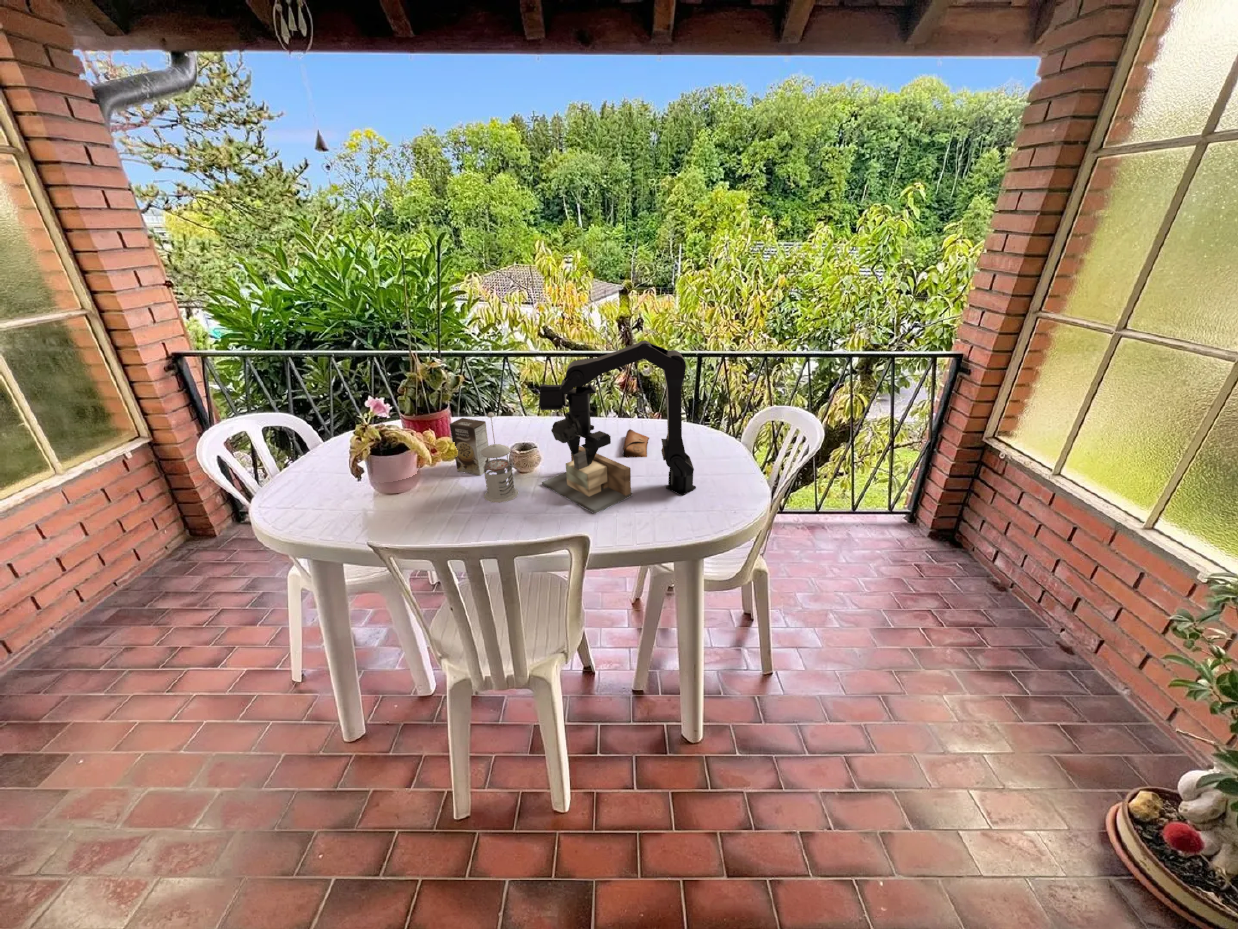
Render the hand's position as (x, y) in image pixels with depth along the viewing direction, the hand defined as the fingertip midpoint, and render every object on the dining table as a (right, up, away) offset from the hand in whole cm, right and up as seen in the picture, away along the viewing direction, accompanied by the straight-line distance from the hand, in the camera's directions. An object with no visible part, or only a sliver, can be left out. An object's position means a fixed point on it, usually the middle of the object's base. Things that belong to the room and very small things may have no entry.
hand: (582, 461), depth 147 cm
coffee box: (-36, -3, +19) cm, 40 cm away
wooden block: (+1, -7, +4) cm, 9 cm away
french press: (-23, -9, +4) cm, 25 cm away
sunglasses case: (+16, +5, +33) cm, 37 cm away
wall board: (+1, -8, +5) cm, 10 cm away
